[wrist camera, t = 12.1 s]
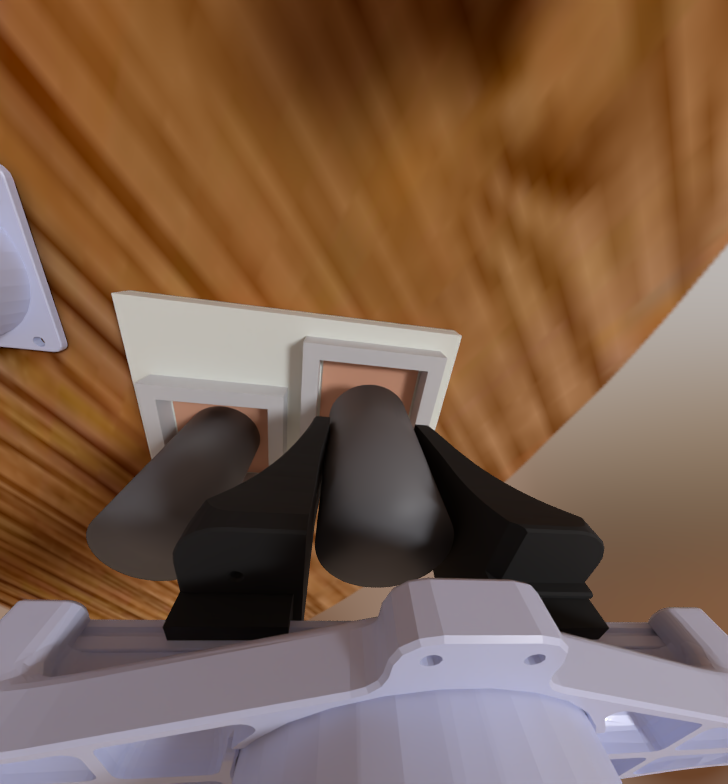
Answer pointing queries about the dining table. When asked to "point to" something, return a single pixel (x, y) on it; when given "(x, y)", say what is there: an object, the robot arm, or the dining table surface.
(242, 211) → the dining table surface
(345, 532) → the peg
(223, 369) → the board
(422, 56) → the dining table surface
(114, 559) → the peg
